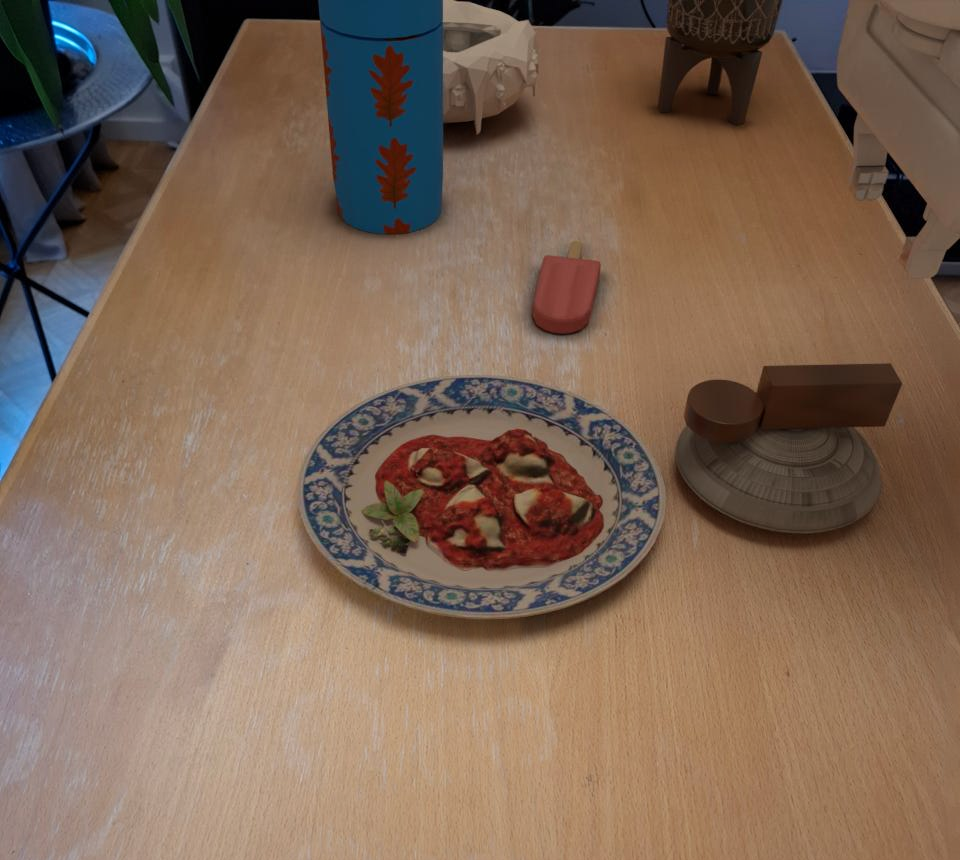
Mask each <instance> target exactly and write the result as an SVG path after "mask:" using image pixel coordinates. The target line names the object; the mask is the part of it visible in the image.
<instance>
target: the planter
mask: <svg viewBox="0 0 960 860" xmlns="http://www.w3.org/2000/svg"><path fill="white" fill-rule="evenodd" d="M783 1H784V0H668V2H667V11H666V30H667V33H668V34H669V36H665V41H664V51H663V58H662V59H663V60H662V68H661V77H660V86H659V92H658V93H659V94H658V102H657V109H658V110H659V112H660V113H670V112H671V109H672V106H673V102H674V99H675V97H676V94H677V91H678V89H679V86H680V84H681V83H682V81H683V79H684V78H685V77H686V76H687V74H688V73H689V72H690V71H691V70H692V69H694V67H696V66H697V65H698V64H700V63H701V62H704V61H706V60H708V59H711V61H710V69H709V77H708V82H707V87H706V88H707V89H706V94H707V95H711V96H718V94H719V92H720V87H721V82H722V77H723V72H724V71H725V73H726V75H727V78H728V81H729V86H730V91H731V108H730V109H731V112H730V119H729V122H730V123H731V124H733V125H735V126H740V125H742V124H745V121H746V118H747V114H748V111H749V106H750V102H751V98H752V94H753V90H754V87H755V86H754V85H755V84H756V80H757V79H756V78H757V75H758V72H759V71H758V70H759V67H760V64H761V60H762V55H763V51H762V50H760V49H762V48H764V47H765V46H767V45H768V44H769V42H770V41H771V40H772V38H773V36H774V34H775V31H776V27H777V23H778V19H779V15H780V12H781V7H782V4H783Z"/></svg>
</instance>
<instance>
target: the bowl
mask: <svg viewBox="0 0 960 860" xmlns="http://www.w3.org/2000/svg"><path fill="white" fill-rule="evenodd" d="M539 71H540V70H539V43H538V40H537V33H536V31H535V29H534V27H533V26H532V25H531V23H530V20H529V19H525V20H520V21H519V20H517V19H516V18H514V17H513V16H511V15H510V14H507V13H505V12H503V11H500V10H497V9H493V8H489V7H485V6H483V5H479V4H477V3H473V2H471V1H458V0H443V124H451V123H453V124H454V123H462V122H463V123H464V122H465V123H466V122H473V121H474V127H475V128H474V129H475V131H476V132H475V133H476V135H479V134H480V133H481V130H482V121H483V120H482V119H486V118H489V117H493V116H497V115H499V114H500V113H502V112H503V111H505V110H507V109H508V108H510V107H511V106H513V105H514V104H516V102H517V101H518V100H519V99H520V97H521V96H522V93H523V92H524V91H525V89H526V88H527V87H532V96H533V97H536V95H535V94H536V87H537V86H538V77H539Z"/></svg>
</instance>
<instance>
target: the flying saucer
mask: <svg viewBox="0 0 960 860" xmlns="http://www.w3.org/2000/svg"><path fill="white" fill-rule="evenodd" d="M674 450H675V462H676V466H677V469H678V471H679V473H680V476H681V477H682V479H683V480H684V482H685V483H686V485H687V486H688V488H689V489H690V490H691V491H692V492H693V493H694V494H695V495H696V497H698V498H699V499H700V500H702V501H703V502H704V503H705V504H707V505H708V506H710V507H711V508H712V509H714V510H715V511H717V512H719V513H721V514H722V515H724V516H726V517H728V518H729V519H733V520H735V521H737V522H740V523H742V524H745V525H747V526H751V527H754V528H758V529H762V530H766V531H770V532H777V533H783V534H817V533H825V532H830V531H833V530H834V531H835V530H838V529H841V528H844V527H846V526H849V525H851V524H853V523H856V522H857V521H859V520H860V519H862V518H863V517H865V516H866V515H867V514H869V512H870V511H871V510H872V509H873V508H874V507H875V505H876V504H877V502H878V501H879V498H880V495H881V492H882V486H883V479H882V478H883V477H882V473H881V469H880V464H879V462H878V459H877V457H876V455H875V453H874V451H873V450H872V447H871V446H870V445H869V443H868V441H867V440H866V439H865V437H863V435H862V434H861V433H860V432H859V431H858V430H857V429H856V427H840V428H797V429H760V428H759V425H758V428H757V431H756V432H755V433H754V434H753V435H752V436H751V437H750V438H748V439H746V440H743V441H740V442H734V443H722V442H715V441H711V440H708V439H705V438H703V437H701V436H699V435H697V434H696V433H694V432H693V431H692V430H691V429H690V428H689V427H688V426H687V425H685V427H684V428H683V429H682V431H681V432H680V434H679V436H678V438H677V441H676V444H675V449H674Z"/></svg>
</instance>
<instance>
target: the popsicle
mask: <svg viewBox="0 0 960 860" xmlns="http://www.w3.org/2000/svg"><path fill="white" fill-rule="evenodd" d="M582 249H583V243H582V242H581V241H577V240H573V241H571V242H570V245H569V248H568V254H567V256H559V255H551V254H546V255H544V257H543V259H542V263H541V267H540V271H539V274H538V279H537V282H536V283H537V284H536V288H535V292H534V298H533V303H532V312H531V313H532V314H531V315H532V317H533V319H534V322H535V325H537V326H538V327H539V328H541V329H542V330H543V331H547V332H550V333H554V334H562V335H563V334H573V333H575V332H579V331H581V330H582V329H583V328H585V326H586V325H587V324H588V323H589V322H590V317H591V314H592V310H593V305H594V303H595V299H596V294H597V289H598V285H599V281H600V274H601V268H602V267H601V266H602V264H601V261H599V260H595V259H594V260H593V259H585V258H583V259H582V258H581V255H582Z"/></svg>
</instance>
